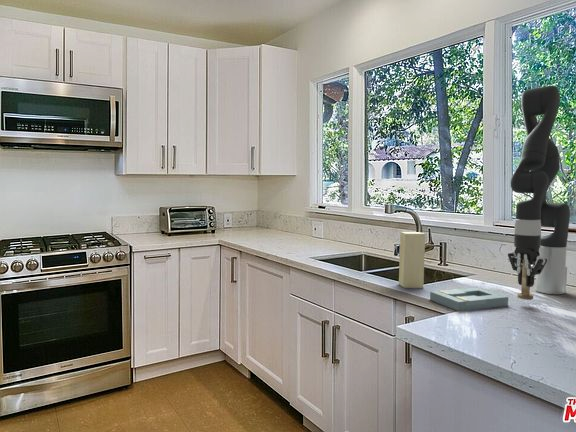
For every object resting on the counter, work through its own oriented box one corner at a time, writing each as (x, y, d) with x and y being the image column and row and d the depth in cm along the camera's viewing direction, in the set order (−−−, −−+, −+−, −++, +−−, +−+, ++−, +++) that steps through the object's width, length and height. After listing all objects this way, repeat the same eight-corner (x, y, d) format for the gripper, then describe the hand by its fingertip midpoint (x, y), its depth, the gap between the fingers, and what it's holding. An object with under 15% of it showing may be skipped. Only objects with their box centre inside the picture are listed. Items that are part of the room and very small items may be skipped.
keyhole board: (476, 295, 157) (477, 286, 157) (507, 305, 144) (508, 296, 144) (430, 299, 151) (430, 291, 151) (458, 311, 138) (458, 301, 137)
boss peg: (524, 295, 146) (526, 256, 145) (536, 298, 142) (538, 259, 141) (514, 296, 145) (515, 257, 144) (525, 300, 141) (527, 260, 139)
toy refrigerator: (417, 283, 175) (419, 231, 174) (424, 288, 168) (425, 233, 166) (398, 283, 175) (399, 231, 174) (403, 288, 168) (404, 233, 166)
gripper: (555, 235, 136) (553, 289, 138) (518, 230, 149) (517, 280, 151) (537, 236, 134) (535, 291, 135) (501, 231, 147) (499, 282, 148)
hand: (525, 285), depth 143 cm, fingers closed on boss peg, 2 cm apart
